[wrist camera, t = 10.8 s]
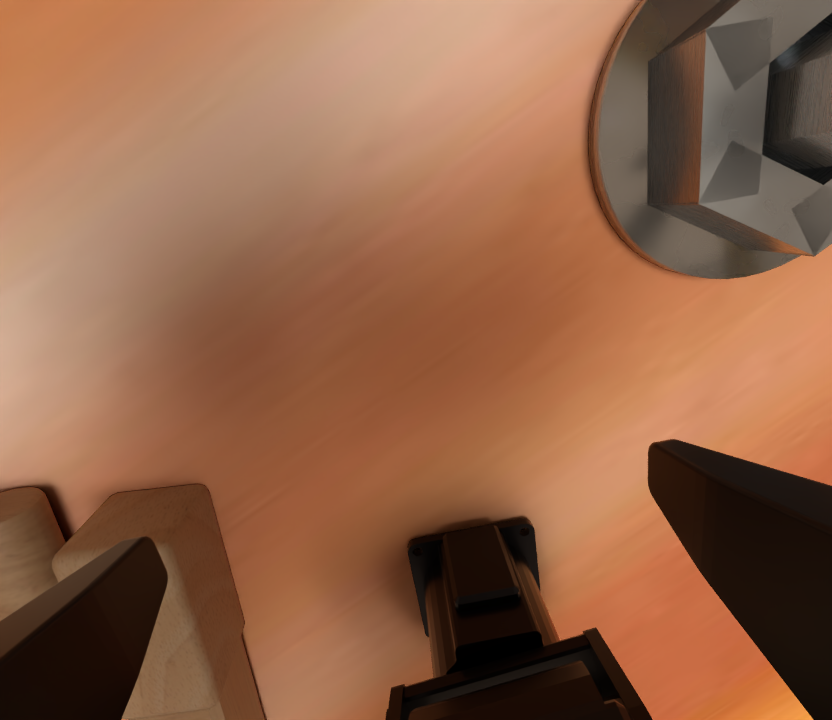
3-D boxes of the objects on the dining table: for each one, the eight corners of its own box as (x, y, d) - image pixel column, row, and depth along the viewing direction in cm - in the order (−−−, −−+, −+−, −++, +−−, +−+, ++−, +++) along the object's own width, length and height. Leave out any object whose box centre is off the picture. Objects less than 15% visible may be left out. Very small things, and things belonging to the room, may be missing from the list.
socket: (926, 146, 18) (1067, 130, 15) (677, 330, 20) (745, 357, 16) (818, -160, 15) (966, -286, 11) (529, 95, 17) (571, 61, 13)
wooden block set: (147, 546, 16) (249, 843, 22) (206, 461, 21) (275, 717, 27) (-364, 606, 15) (-115, 897, 21) (-169, 501, 20) (-14, 757, 26)
